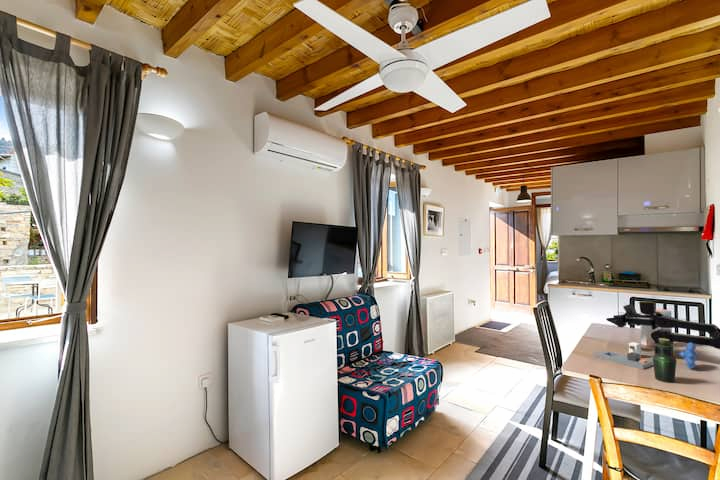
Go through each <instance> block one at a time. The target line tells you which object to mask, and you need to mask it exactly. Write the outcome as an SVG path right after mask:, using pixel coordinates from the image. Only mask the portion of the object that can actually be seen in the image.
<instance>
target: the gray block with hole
mask: <svg viewBox="0 0 720 480" xmlns="http://www.w3.org/2000/svg"><path fill="white" fill-rule="evenodd" d="M593 354H594V356H595V358H597V359H602V360H606V361H610V362H613V363H616V364H617V363H618V364H622V365H624V366H629V367H632V368H633V367H634V368H637V369H639V370H640V369H641V370H645V369H648V368H649V367H654V365H653V360H650V359H649V360H648V359H645V358H641V357H640V354H638V353H634V352H631V353H629V352H628V353H627V354H623V353H620V352H617V351H616V352H615V351H610V350H606V349H603V350H599V351H597V352H594V353H593Z"/></svg>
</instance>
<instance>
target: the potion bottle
mask: <svg viewBox="0 0 720 480" xmlns="http://www.w3.org/2000/svg"><path fill="white" fill-rule="evenodd" d="M669 341H670V340H669V339H664V338H659V343H657V344H656V347H658V348H659V351H660V353H657V354H655V353H654V354H653V355H652V361H653V370H654V378H655V379H656V380H657V381H660V382H663V383H674V382H675V381H676V380H675V379H676V369H677V368H676V367H677V361H678V360H677V359H676V358H675V357H673V356H674V355H673V356H671V355H670V354H668V353H669V350H670V349H673V350H674V346H673V344H672V345H670V344H669ZM672 346H673V347H672Z"/></svg>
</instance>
